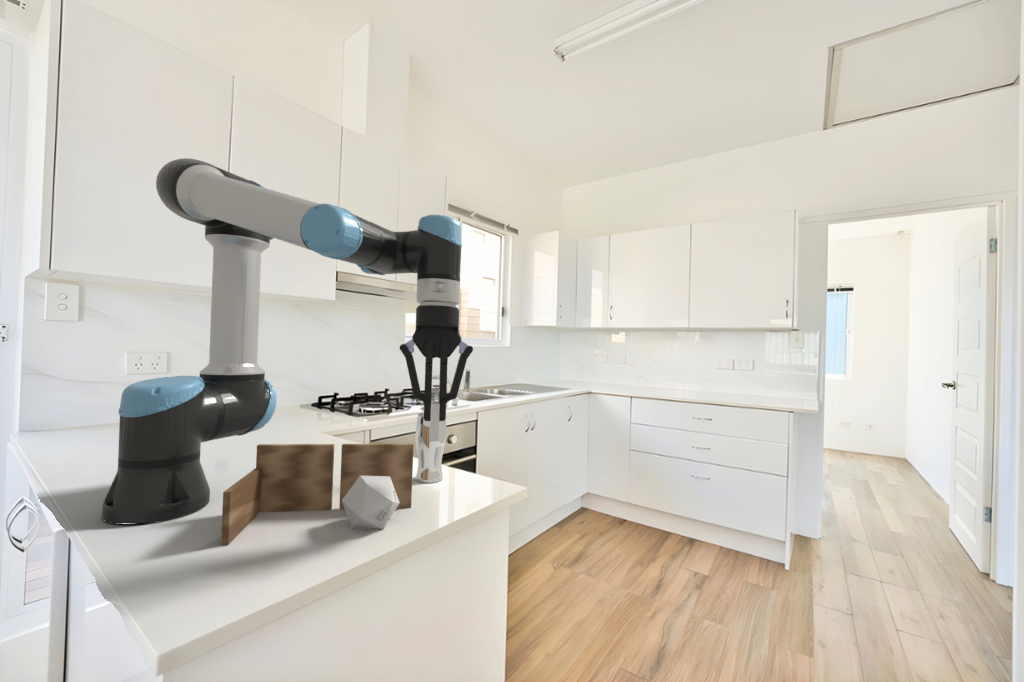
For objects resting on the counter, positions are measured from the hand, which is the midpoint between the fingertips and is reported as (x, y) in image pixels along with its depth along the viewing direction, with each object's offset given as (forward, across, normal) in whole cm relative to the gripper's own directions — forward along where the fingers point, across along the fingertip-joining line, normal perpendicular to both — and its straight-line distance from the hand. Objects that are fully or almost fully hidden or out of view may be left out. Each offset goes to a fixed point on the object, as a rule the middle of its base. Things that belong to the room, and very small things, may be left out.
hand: (434, 439), depth 78 cm
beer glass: (+15, 0, +25) cm, 29 cm away
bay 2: (+15, -10, +8) cm, 20 cm away
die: (+15, -10, 0) cm, 18 cm away
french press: (+14, +6, +148) cm, 149 cm away
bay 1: (+14, -25, +2) cm, 29 cm away
